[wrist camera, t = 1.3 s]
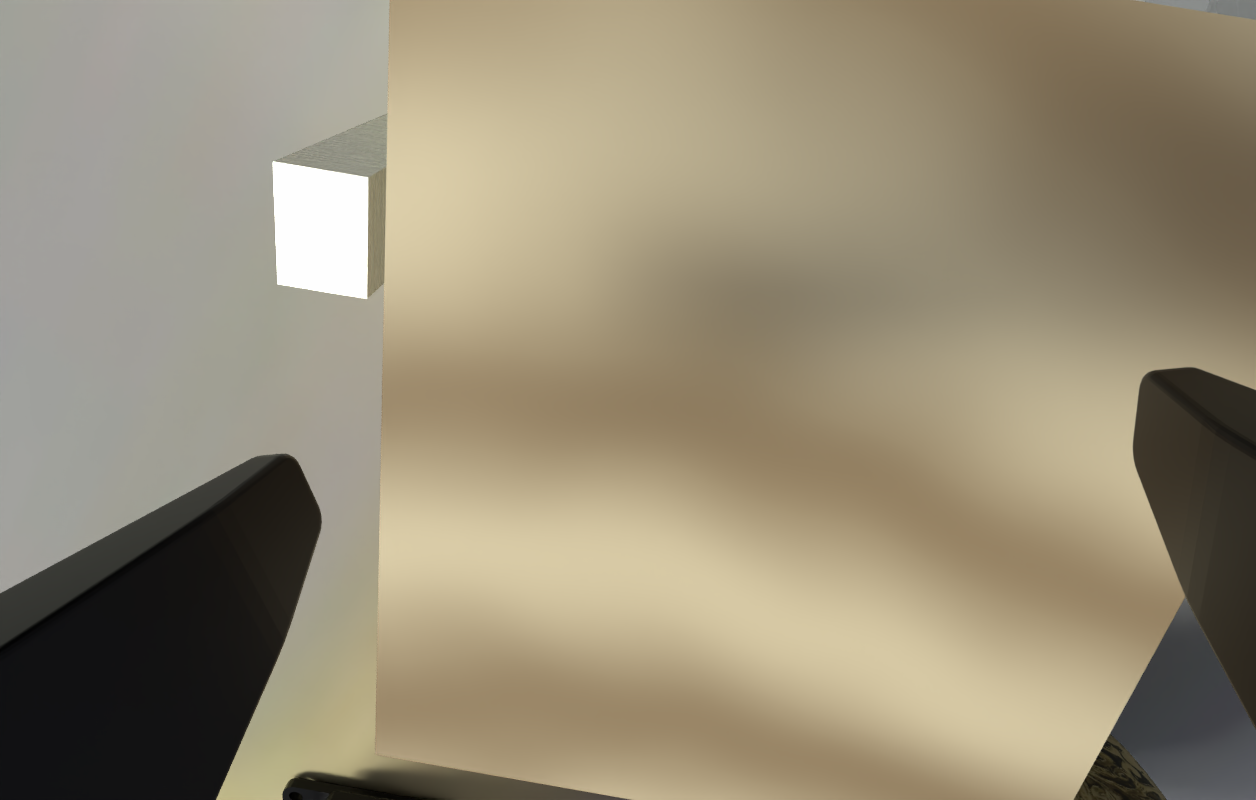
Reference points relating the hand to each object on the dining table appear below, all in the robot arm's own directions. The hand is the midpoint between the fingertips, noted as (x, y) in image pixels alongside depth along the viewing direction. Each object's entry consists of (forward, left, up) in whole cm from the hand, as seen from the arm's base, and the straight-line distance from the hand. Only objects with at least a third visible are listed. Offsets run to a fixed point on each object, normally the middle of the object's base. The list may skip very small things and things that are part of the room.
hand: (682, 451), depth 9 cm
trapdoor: (-3, -2, -10) cm, 11 cm away
